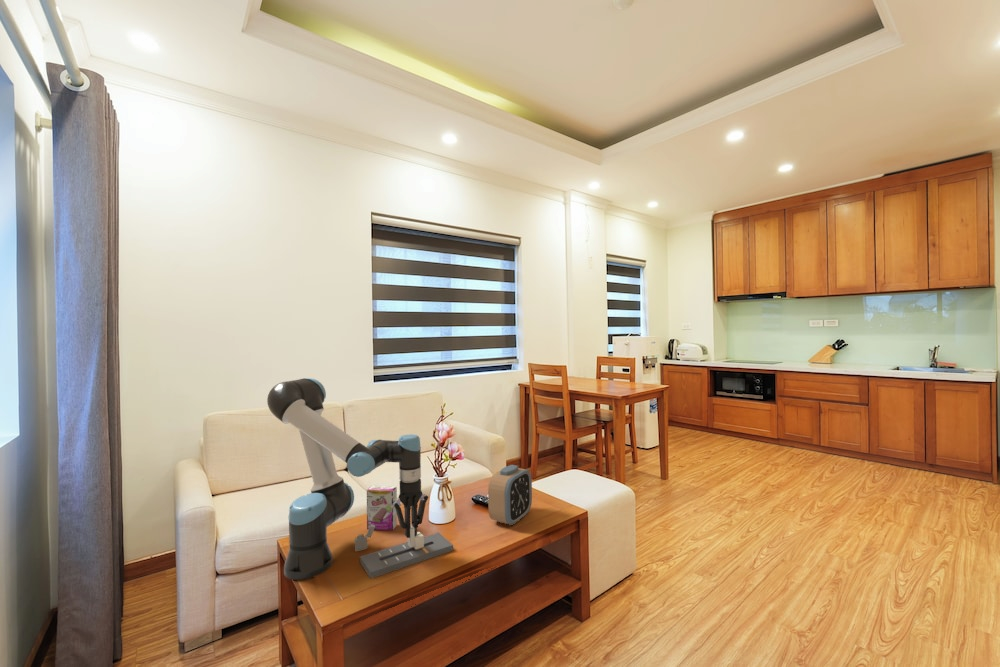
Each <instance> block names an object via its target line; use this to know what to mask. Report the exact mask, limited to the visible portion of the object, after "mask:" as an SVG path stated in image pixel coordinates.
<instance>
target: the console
mask: <svg viewBox="0 0 1000 667" xmlns="http://www.w3.org/2000/svg"><path fill="white" fill-rule="evenodd" d="M453 551H454V544H452V542H451V541H449V540H448V539H447V538H446V537H444V536H443V535H442V534H441V533H440V532H436V533H432V534H429V535H426V536H424V548H422V549H418V550H415V549H414V548H413V547H410V546H409V545H408V541H406V542H402V543H400V544H396V545H393V546H390V547H387V548H383V549H380V550H376V551H373V552H370V553H367V554H364V555H361V556H359V563H360V565H361V566H362V567H363V569H364V570H365V572H366V573H367V575H368V577H369V578H370V579H374V578H377V577H379V576H382V575H386V574H388V573H390V572H391V573H392V572H394V571H397V570H401V569H403V568H406V567H409V566H411V565H414V564H415V565H416V564H418V563H421V562H424V561H426V560H430V559H431V558H436V557H438V556H440V555H444V554H447V553H450V552H453Z"/></svg>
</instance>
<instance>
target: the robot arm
mask: <svg viewBox="0 0 1000 667" xmlns="http://www.w3.org/2000/svg"><path fill="white" fill-rule="evenodd" d="M326 396H327V392H326V389H325V386H324V385H323V383H321V382H320V381H319V380H317V379H315V378H299V379H293V380H288V381H283V382H281V381H280V382H279V383H277V384H275V385H274V386H272V388H271V389H270V390H269V392H268V395H267V398H266V400H267V403H266V404H267V407H268V409H269V411H270V412H271V414H272V415H273V416H274V417H275V418H277V419H278V420H279V421H281V422H282V423H284V424H290V425H292V426H293V427H295V429H298V432H299V434H300V438H301V442H302V446H303V448H304V449H303V450H304V452H305V453H304V454H305V457H306V460H307V464H308V468H309V471H310V475H311V479H312V483H313V485H312V487H311V488H310V493H307V494H305V495H301V496H300V497H297V498H296V499H295V500H293V501H292V502H291V504H290V506H289V508H288V534H289V535H288V538H289V540H288V541H289V547H288V548H289V549H288V553H287V556H286V559H285V561H284V565H283V575H284V577H285V578H286V579H289V580H291V581H304V580H310V579H312V578H313V579H314V578H315V577H316V576H319V575H321V574H322V573H325V572H326V571H327V570H328V569H330V568H331V567H332V565H333V554H332V551H331V549H330V546H329V543H328V537H327V533H328V532H327V531H328V529H327V528H328V527H329V526H331V525H332V524H333V523H335V522H336V521H338V520H339V519H341V518H343V517H344V516H345V515H346V514H347V513H348V512H349V511H350V510H351V508H352V507H353V505H354V501H355V494H354V493H355V492H354V490H353V488H352V486H351V485H349V484H348V483H347V482H345V481H344V478H343V477H342V476H339V474H338V472H337V468H336V464H335V461H334V458H333V455H335V456H336V457H338V458H339V459H341V460H342V461H343V462H345V463H346V467H347V470H348V472H349V473H350V474H351V475H352V476H353V477H357V478H359V477H363V476H365V475H368V474H370V473H371V472H372V471H374V470H376V469H377V468H379V467H380V466H382V465H384V464H385V463H398V465H399V470H398V472H399V478H398V479H399V495H398V498H397V501H396V502H395V501H394V502H393V503H392V504H393V506H394V507H395V509H396V512H397V521H398V523H399V526H400V528H402V529H403V530H404V531H405V538H407V542H408V545H409V546H410V547H414V546H415V536H416V535H417V532H418V527H419V526H418V525H421V524H422V523H423V519H424V514H425V509H426V504H427V501H428V499H429V495H427V494H425V493H423V490H422V480H421V477H422V470H421V468H422V466H421V464H422V463H421V459H422V458H421V453H422V452H421V451H422V447H421V438H420V436H419V435H417V434H403V435H400V436H399V438H398V440H388V439H387V440H386V439H373V440H370V441H368V444H367V445H366V446H365V445H364V444H362V443H361V442H360V441H358V440H357V439H355V438H354V437H353V436H351V435H350V434H348V433H346V432H345V431H344V430H342V429H341V428H339V427H338V426H337V425H335V424H333V423H332V422H330V421H329V420H328V419H326V418H325V417H323V416H322V412H324V410H325V408H324V405H323V403H324V402H325V400H326V398H327V397H326ZM418 503H419V504H418ZM401 505H403V508H404V515H403V511H402V508H401Z"/></svg>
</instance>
